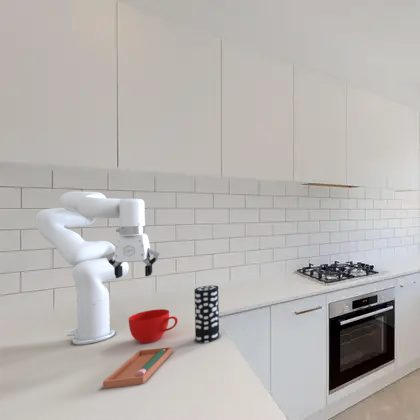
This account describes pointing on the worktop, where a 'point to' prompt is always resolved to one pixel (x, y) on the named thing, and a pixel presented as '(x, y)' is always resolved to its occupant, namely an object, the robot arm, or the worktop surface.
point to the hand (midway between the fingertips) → (133, 276)
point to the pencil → (150, 363)
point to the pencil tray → (135, 368)
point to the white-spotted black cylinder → (206, 314)
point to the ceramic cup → (150, 325)
